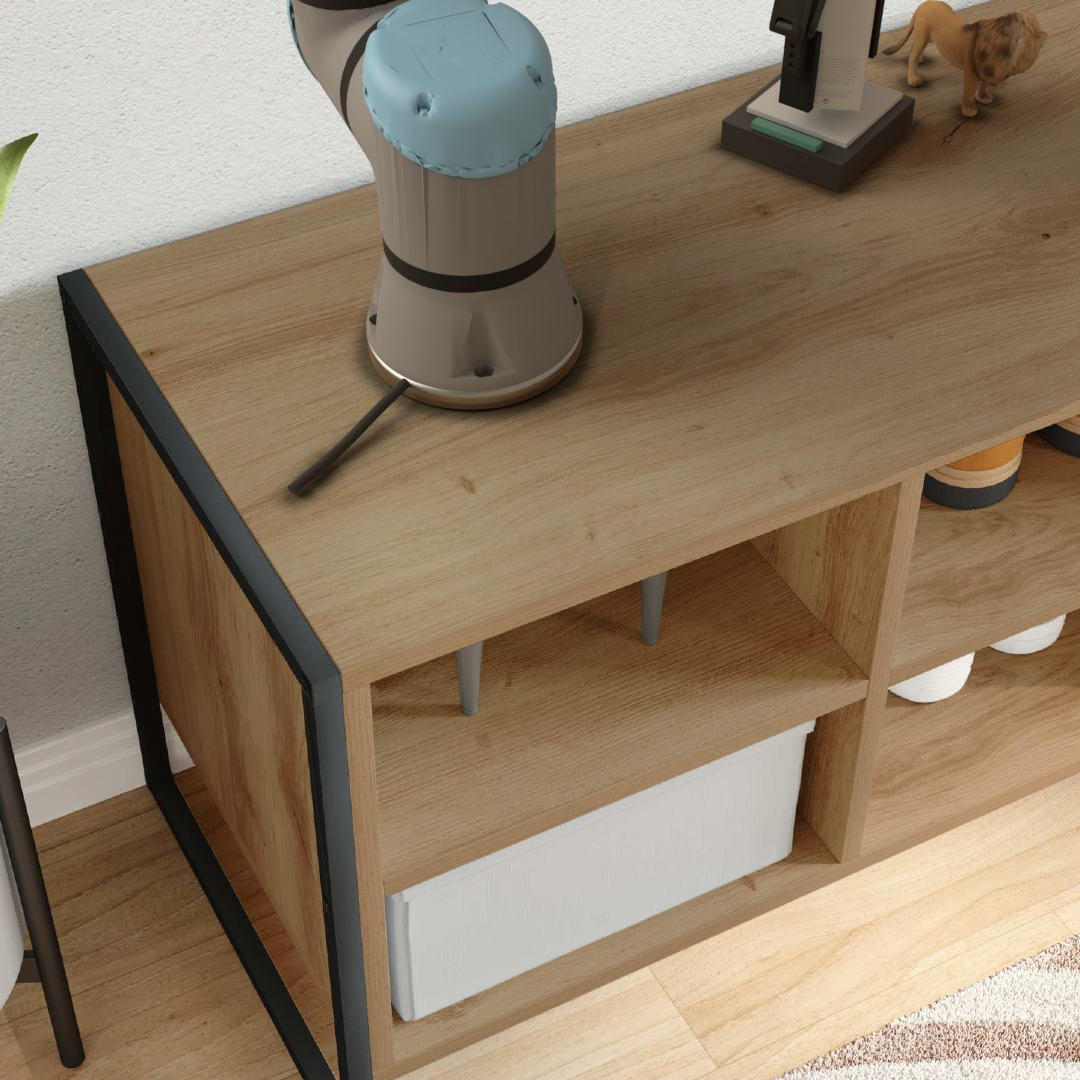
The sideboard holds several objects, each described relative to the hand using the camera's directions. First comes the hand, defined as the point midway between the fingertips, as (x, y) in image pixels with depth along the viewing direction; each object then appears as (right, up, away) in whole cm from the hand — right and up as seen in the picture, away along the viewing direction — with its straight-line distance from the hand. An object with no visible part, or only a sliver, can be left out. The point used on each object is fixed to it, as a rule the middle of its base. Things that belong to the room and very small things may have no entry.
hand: (828, 78), depth 126 cm
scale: (0, -4, +3) cm, 5 cm away
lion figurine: (+12, +1, +8) cm, 15 cm away
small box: (0, -1, +1) cm, 1 cm away
